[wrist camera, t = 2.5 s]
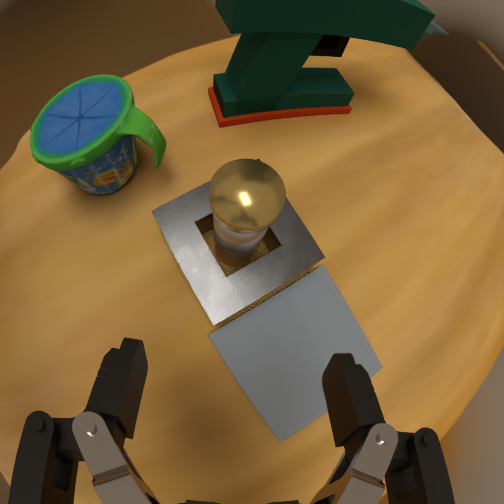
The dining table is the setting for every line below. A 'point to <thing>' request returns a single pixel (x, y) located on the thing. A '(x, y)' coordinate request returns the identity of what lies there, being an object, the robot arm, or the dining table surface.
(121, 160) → the snack cup
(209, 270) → the socket block
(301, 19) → the power tool
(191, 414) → the dining table surface
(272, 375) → the mat
